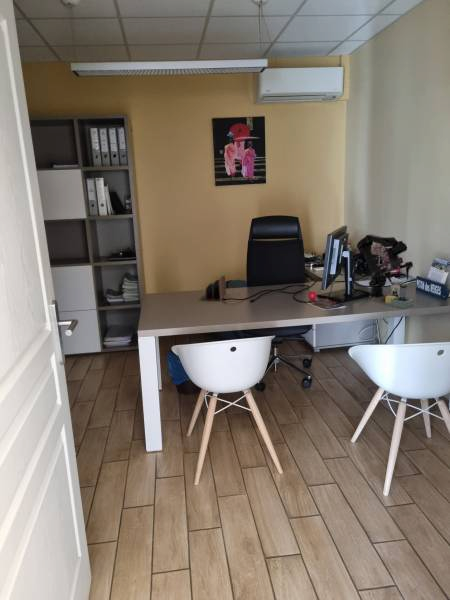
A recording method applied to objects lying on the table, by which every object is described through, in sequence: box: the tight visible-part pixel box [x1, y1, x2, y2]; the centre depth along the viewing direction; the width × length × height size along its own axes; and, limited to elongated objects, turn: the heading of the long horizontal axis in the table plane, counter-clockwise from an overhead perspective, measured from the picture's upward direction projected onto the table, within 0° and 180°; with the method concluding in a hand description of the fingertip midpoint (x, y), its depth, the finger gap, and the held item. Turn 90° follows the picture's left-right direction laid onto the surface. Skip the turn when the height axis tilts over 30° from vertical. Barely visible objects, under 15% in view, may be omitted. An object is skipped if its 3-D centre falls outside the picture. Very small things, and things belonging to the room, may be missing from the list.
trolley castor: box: [390, 284, 400, 298], centre depth 281 cm, size 5×6×10 cm
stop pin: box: [399, 283, 408, 302], centre depth 270 cm, size 4×4×12 cm
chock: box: [385, 294, 397, 305], centre depth 279 cm, size 5×4×4 cm
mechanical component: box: [391, 281, 410, 290], centre depth 289 cm, size 3×10×10 cm, turn 78°
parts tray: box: [390, 297, 415, 310], centre depth 271 cm, size 9×9×4 cm
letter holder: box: [205, 275, 227, 302], centre depth 305 cm, size 10×20×14 cm, turn 169°
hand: (399, 281), depth 277 cm, fingers open, 9 cm apart
